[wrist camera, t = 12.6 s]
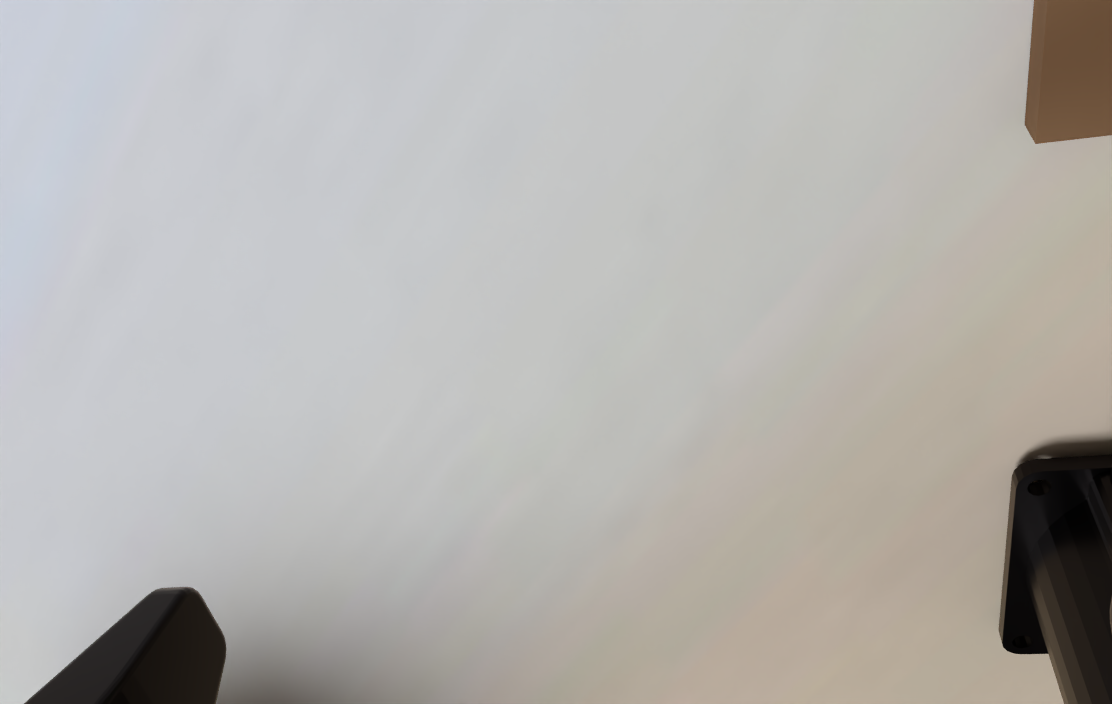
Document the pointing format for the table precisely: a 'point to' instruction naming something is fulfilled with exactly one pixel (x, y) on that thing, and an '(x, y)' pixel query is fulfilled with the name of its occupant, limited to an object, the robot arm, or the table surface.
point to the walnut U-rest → (1070, 70)
